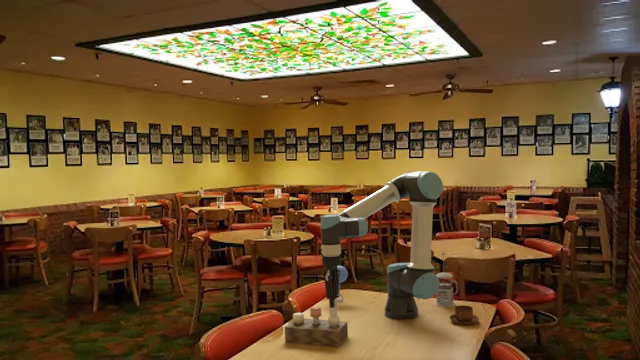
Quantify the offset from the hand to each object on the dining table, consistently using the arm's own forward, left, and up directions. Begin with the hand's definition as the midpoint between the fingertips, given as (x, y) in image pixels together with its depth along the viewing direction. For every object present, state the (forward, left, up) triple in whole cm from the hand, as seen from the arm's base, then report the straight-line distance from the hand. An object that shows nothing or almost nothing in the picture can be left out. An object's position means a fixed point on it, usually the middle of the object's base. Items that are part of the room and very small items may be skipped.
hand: (333, 314), depth 191 cm
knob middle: (+7, 0, -5) cm, 9 cm away
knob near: (0, 0, -7) cm, 7 cm away
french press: (-37, -60, -11) cm, 71 cm away
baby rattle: (+15, -55, -11) cm, 58 cm away
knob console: (+7, 0, -10) cm, 13 cm away
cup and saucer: (-46, -35, -11) cm, 59 cm away
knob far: (+15, 0, -8) cm, 17 cm away
